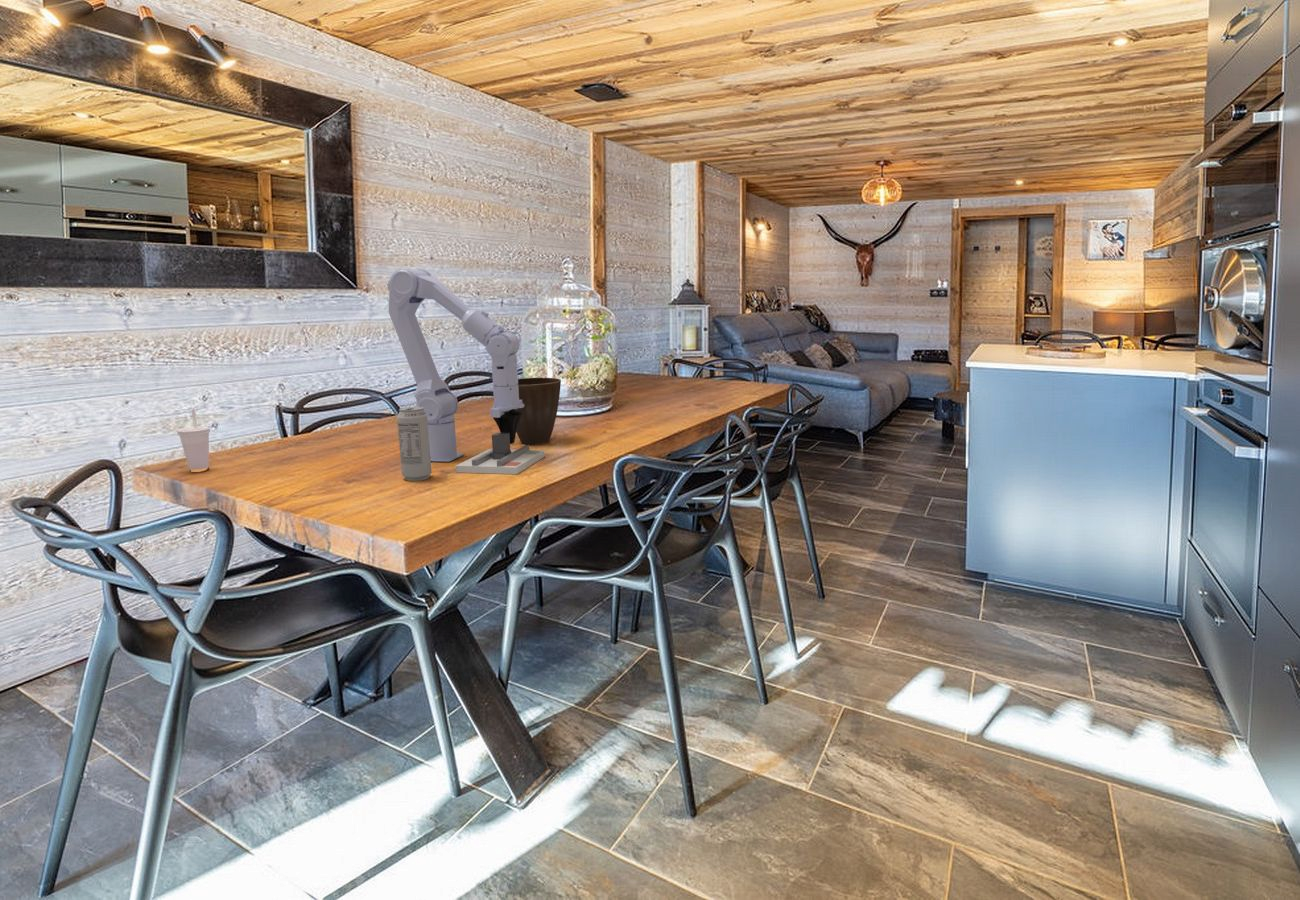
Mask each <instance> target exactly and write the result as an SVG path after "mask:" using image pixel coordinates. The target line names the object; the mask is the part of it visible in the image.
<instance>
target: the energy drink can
mask: <svg viewBox="0 0 1300 900" xmlns="http://www.w3.org/2000/svg"><path fill="white" fill-rule="evenodd" d="M398 411H399V412H398V415H397V416H396V421H397V431H398V432H397V433H398V434H397V435H398V441H399V443H398V444H399V452H400V453H399V454H400V465H401V475H402V477H404V479H405V481H408V482H418V481H419V482H420V481H425V480H427V479H430V476H431V474H432V461H431V458H430V446H429V433H428V421H427V415H426V413H425V412H424V410H423V407H417V406H406V407H401V408H399V409H398Z"/></svg>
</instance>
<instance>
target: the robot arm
mask: <svg viewBox="0 0 1300 900" xmlns="http://www.w3.org/2000/svg"><path fill="white" fill-rule="evenodd" d="M386 286H387V289H388V291H389V293H388V314H389V317H390V320H391V322H392V325H393V327H394V330H395V332H396V335H397V338H398V340H399V342H400V345H401V347H402V350H403V352H404V355H405V358H406V360H407V363H408V366H409V368H410V370H411V372H412V373H411V374H412V375H413V378H414V380H415V384H416V389H415V392H414V397H415V400H416V407H423V410H424V412H425V413H426V415H427V421H428V433H429V446H430V458H431V462H445V463H446V462H447V463H449V462H452V461H454V460H456V459H458V458H460V457H462V456H464V455H465V454H464V453H465V452H458V450H457V448H458V447H457V438H456V437H457V436H456V423H455V422H456V421H455V413H457V410H458V407H459V402H458V399H457V396H456V395H455V394H454V393H453V392H452V391H451V389H450V388H449V386H448V383H446V381H444V379H442V378H441V377H440V374H439V372H438V370H437V367H436V365H435V362H434V360H433V356H432V354H431V352H430V349H429V347H428V344H427V341H426V338H425V336H424V334H423V330H422V329H421V327H420V324H419V323H420V322H419V321H418V318H417V315H416V313H417V311H418V309H419V307H420V305H421V303H422V302H423V301H424V300H425V299H426V300H432V301H435V302H436V303H437V304H439V305H440V306H441V307H443V308H444V309H445V310H447V311H448V312H449V313H450V314H452V315H454V316H455V317H456V318H458V319H459V320H461V323H462V329H463V330H464V331H466V332H467V333H468V335H470V336H471V337H473V338H474V339H475V340H477V342H479V343H480V344H482V346H484V347H485V349H486V351H487V353H488V354H489V356H490V357H491V374H492V389H493V405H492V407H491V408H490V409H489V411H490V418H492V419H493V420H494V422H495V423H496V425H497V428H498V430H499V433H509V436H510V445H513V444H514V443H515V441H516V436H517V433H516V430H517V426H518V423H519V420H520V418H521V416H522V412H519V411H515V409H518V408H523V407H524V404H522V400H519V388H518V379H519V373H518V371H519V369H518V358H517V357H518V355H517V353H518V351H519V350H520V340H519V338H518V336H517V335H516V334H515V333H514V332H513V331H511V330H506V328H505V326H504V325H502V324H498V323H497V322H496V321H494V320H493V319H492V318H491V317H490V316H489V315H490V313H489V312H488V311H487V310H481V309H478V308H477V309H472V308H470V307H469V305H467V304H466V303H465V302H463V301H462V299H460V298H459V297H458V296H457V295H456V294H455V293H454V292H453V291H451V289H449V288H448V287H447V286H445V284H443V283H442V282H441V280H440V279H439V278H438V277H436V276H434V275H432V274H431V273H430V272H429V271H428V270H426V269H424V268H423V269H422V268H421V269H419V268H418V269H411V268H409V269H408V268H404V267H401V268H398V269H396V270H395V271H393V273H392V274H391V276H390V278H389V280H388V282H387V283H386Z"/></svg>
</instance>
